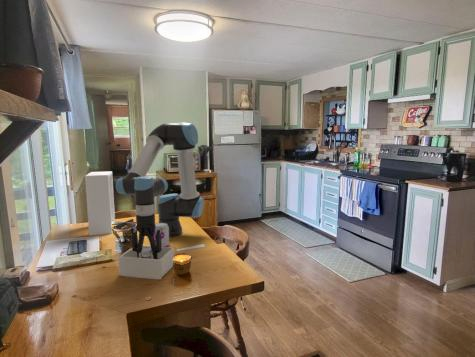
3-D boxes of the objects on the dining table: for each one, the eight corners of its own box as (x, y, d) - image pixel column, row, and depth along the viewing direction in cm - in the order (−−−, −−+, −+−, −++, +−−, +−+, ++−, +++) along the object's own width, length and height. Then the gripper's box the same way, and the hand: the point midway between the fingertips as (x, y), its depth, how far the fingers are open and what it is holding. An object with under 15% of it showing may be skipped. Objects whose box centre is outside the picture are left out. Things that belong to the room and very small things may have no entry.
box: (95, 225, 196) (91, 171, 191) (115, 223, 200) (112, 171, 195) (89, 235, 176) (84, 175, 171) (111, 233, 179) (108, 175, 174)
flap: (109, 255, 115) (109, 256, 115) (149, 258, 112) (149, 259, 112) (119, 256, 122) (119, 257, 122) (157, 259, 119) (157, 260, 119)
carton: (136, 261, 137) (135, 245, 136) (175, 265, 134) (174, 247, 133) (118, 275, 123) (117, 257, 122) (161, 279, 120) (160, 260, 119)
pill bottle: (140, 267, 129) (139, 248, 128) (151, 264, 131) (150, 246, 130) (144, 271, 125) (143, 252, 124) (155, 268, 128) (154, 249, 127)
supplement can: (165, 259, 140) (164, 227, 139) (149, 257, 142) (147, 226, 140) (172, 252, 148) (171, 223, 146) (156, 251, 150) (155, 222, 148)
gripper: (120, 215, 123) (123, 269, 126) (161, 217, 120) (163, 272, 123) (130, 210, 130) (133, 262, 134) (169, 212, 127) (171, 265, 130)
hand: (147, 267), depth 128 cm, fingers closed on pill bottle, 5 cm apart
